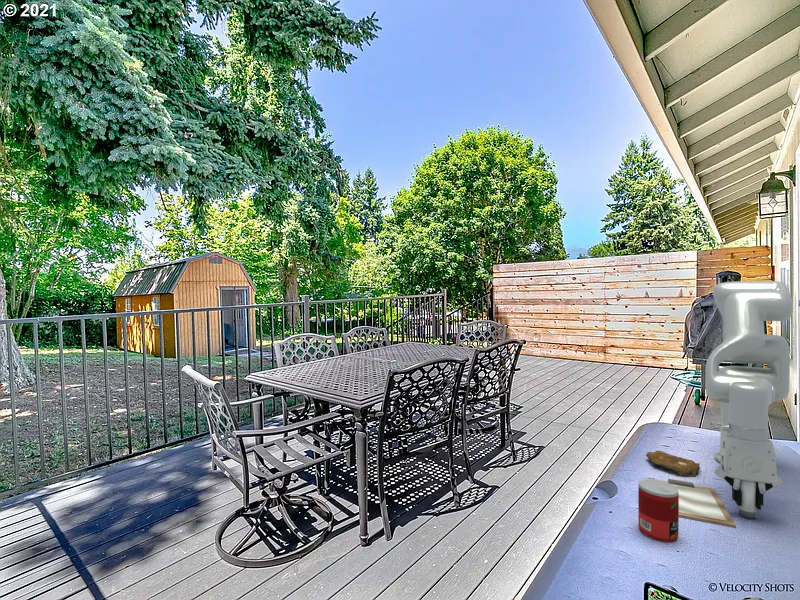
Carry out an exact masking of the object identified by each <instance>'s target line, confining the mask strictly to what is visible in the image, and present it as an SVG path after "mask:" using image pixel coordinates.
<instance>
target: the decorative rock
mask: <svg viewBox="0 0 800 600" xmlns="http://www.w3.org/2000/svg"><path fill="white" fill-rule="evenodd" d="M645 456H646V457H647V459H648V461H649V462H650V463H653V464H654V465H658V467H662V469H665V470H667V469H668V470H672V471H673V472H676V473H677V474H678V475H680V476H681V477H692V478H697V476H698V475H699V473H698V472H699V471H700V469H701V467H700V465H701V463H699V462H695V461H693V460H692V459H687V458H684V457H682V456H681V457H679V456H677V455H673V454H670V453H667V452H665V451H663V450H654V451H648V452H646V454H645Z"/></svg>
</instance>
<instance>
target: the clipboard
mask: <svg viewBox="0 0 800 600" xmlns="http://www.w3.org/2000/svg"><path fill="white" fill-rule="evenodd" d="M647 479H651V477H650V478H649V477H648V478H647ZM652 479H653V480H657V479H655V478H652ZM658 480H659V481H663V482H666V483H668V484H671V485H673V486H674V487H676V488H677V489H678V493H679V518H683V519H689V520H694V521H698V522H704V523H709V524H714V525H720V526H725V527H729V528H737V526H736V525H737V524H736V523H735V521H734V519H733V518H732V516H731V515H730V513H729V510H727V508H726V506H725V505H724V502H723V501H722V499H721V497H720V496H719V495H718V493H717V491H716V490H715V488H712V487H705V486H701V485H699V486H698V485H695V484H694V482H692V481H686V480H679V479H674V478H668V479H667V480H662V479H658Z"/></svg>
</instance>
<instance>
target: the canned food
mask: <svg viewBox="0 0 800 600" xmlns="http://www.w3.org/2000/svg"><path fill="white" fill-rule="evenodd" d="M653 479H654V478H650V479H648V478H647V479H645V478H644V479H641V480H639V481H638V484H637V485H638V491H637V492H638V495H637V496H638V497H637V499H638V501H637V503H638V528H639V531H640V532H641V533H642V534H643V535H644V536H647V537H648V538H650V539H653V540H656V541H660V542H663V543H673V542H675V541H677V539H678V537H679V525H680V524H679V520H680V519H679V518H680V517H679V493H678V489H677V488H676V487H674V486H673V485H671V484H668V483H666V482H663V481H664V480H662V481H659V480H660V479H656V480H653Z"/></svg>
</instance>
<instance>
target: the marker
mask: <svg viewBox="0 0 800 600" xmlns="http://www.w3.org/2000/svg"><path fill="white" fill-rule="evenodd" d="M739 487H740V490H741V491H742V506H738V514H739V515H740V516H742V517H744V518H746V519H756V515H757V513H756V511H757V510H756V509H757V508H756V482H753V481H746V480H740V486H739Z"/></svg>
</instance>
